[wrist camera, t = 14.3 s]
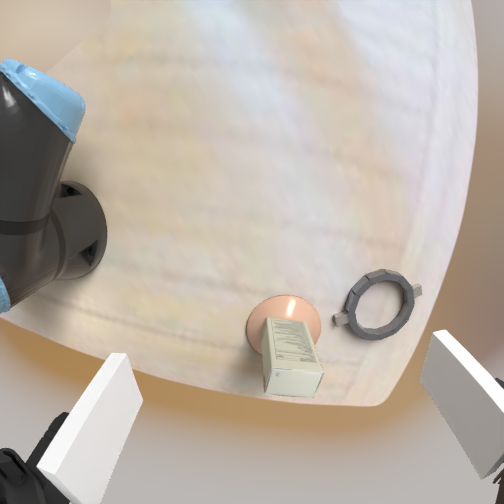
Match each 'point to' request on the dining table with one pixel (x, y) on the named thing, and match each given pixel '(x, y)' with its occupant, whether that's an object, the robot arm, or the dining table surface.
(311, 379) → the skincare box
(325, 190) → the dining table surface
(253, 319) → the peach dome button
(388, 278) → the bayonet collar
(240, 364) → the dining table surface
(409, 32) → the dining table surface
